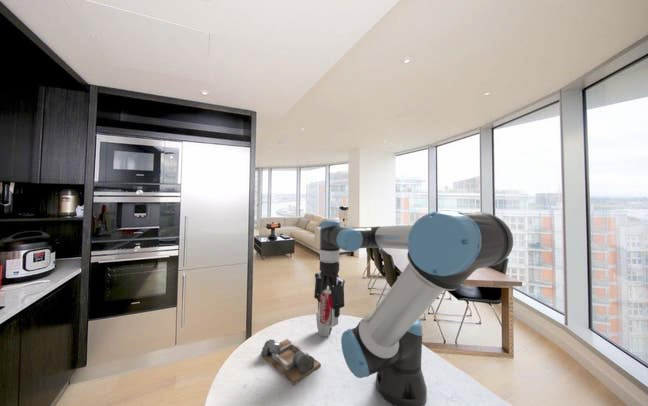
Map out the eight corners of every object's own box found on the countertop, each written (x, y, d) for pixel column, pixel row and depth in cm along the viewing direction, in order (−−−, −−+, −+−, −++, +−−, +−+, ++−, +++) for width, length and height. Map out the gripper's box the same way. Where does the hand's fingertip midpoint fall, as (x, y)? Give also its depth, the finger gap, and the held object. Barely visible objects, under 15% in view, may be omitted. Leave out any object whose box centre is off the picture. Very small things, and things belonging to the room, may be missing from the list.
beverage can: (335, 328, 84) (335, 294, 84) (318, 325, 85) (319, 293, 85) (337, 320, 90) (338, 289, 90) (321, 318, 91) (322, 287, 91)
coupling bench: (320, 366, 81) (321, 352, 81) (293, 384, 73) (294, 368, 73) (287, 341, 96) (287, 329, 96) (261, 354, 87) (261, 340, 87)
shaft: (282, 350, 88) (283, 339, 88) (276, 359, 83) (276, 348, 83) (269, 347, 90) (269, 337, 90) (262, 356, 84) (262, 345, 84)
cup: (333, 339, 99) (334, 315, 99) (314, 338, 99) (315, 315, 99) (333, 329, 107) (334, 307, 107) (315, 328, 107) (316, 306, 107)
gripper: (355, 263, 84) (354, 327, 83) (319, 255, 97) (318, 310, 97) (342, 267, 79) (340, 335, 78) (305, 257, 92) (304, 316, 92)
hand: (328, 321), depth 87 cm, fingers closed on beverage can, 6 cm apart
